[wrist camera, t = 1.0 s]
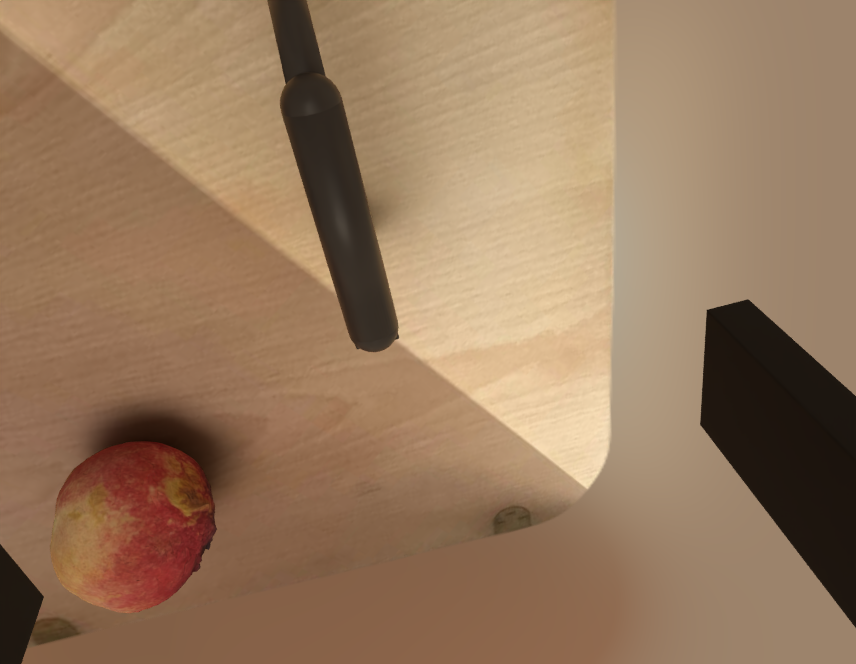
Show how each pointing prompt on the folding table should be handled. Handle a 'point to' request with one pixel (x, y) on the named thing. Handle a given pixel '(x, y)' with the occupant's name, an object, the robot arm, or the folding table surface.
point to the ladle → (332, 180)
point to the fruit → (132, 525)
